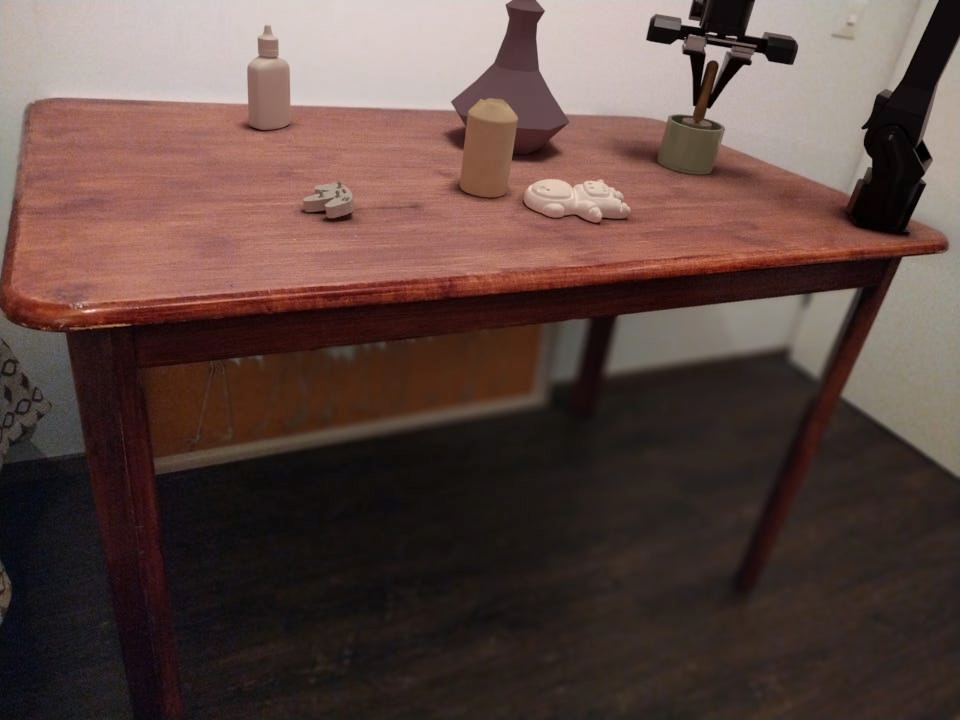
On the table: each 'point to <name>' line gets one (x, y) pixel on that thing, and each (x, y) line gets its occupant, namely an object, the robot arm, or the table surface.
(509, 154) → the candle
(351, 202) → the game controller
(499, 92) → the purple faceted vase
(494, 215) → the table surface
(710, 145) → the scrub cup
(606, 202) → the astronaut figurine
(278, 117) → the eye dropper bottle
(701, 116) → the brush
